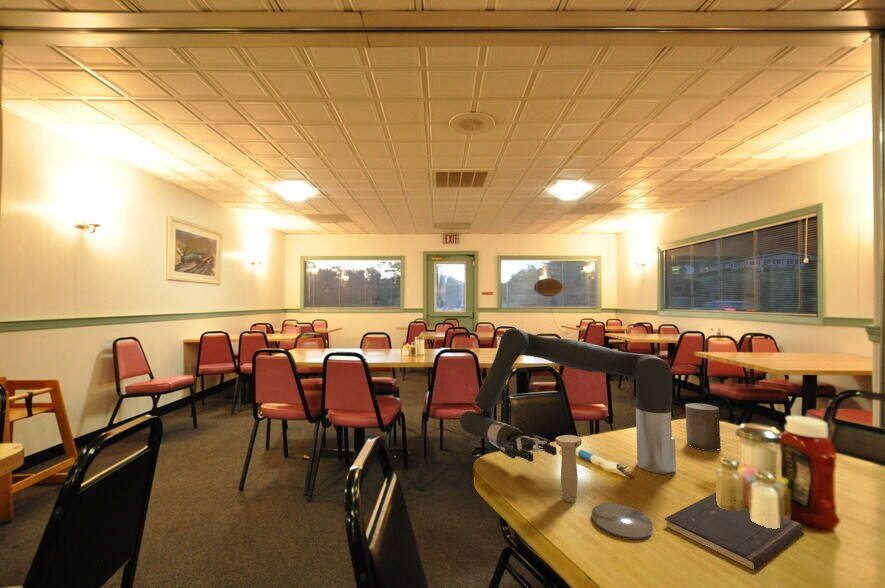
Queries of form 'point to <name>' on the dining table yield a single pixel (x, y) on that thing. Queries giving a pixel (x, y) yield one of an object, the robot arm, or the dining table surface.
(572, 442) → the handle
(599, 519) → the disk
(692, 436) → the pillar candle
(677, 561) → the dining table surface
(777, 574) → the dining table surface
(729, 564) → the dining table surface
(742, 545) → the hardcover book
